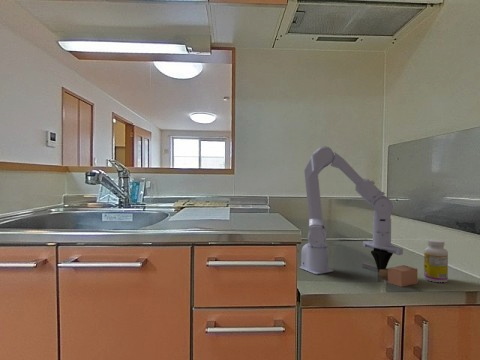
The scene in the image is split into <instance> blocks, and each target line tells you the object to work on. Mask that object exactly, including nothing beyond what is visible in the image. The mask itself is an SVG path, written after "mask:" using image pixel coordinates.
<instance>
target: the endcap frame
mask: <svg viewBox="0 0 480 360" xmlns="http://www.w3.org/2000/svg"><path fill="white" fill-rule="evenodd" d="M361 265H362V268H363V269H364V268H365V269H367V270H370V271H373V272H378V269H377V265H373V264H369V263H366V262H362V263H361ZM378 273H379V272H378ZM387 283H388V284H391V285H395V286H397V287H401V288H402V287H406V286H411V285H415V284H418V268H415V267H412V266H408V265H399V266H398V265H397V266H392V267H388V281H387Z"/></svg>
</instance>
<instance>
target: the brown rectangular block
mask: <svg viewBox="0 0 480 360" xmlns="http://www.w3.org/2000/svg"><path fill="white" fill-rule="evenodd" d="M388 268H389V267H388ZM388 268H387V267H386V269H382V270H379V272H378V279H380V280H383V281H385V282H388Z"/></svg>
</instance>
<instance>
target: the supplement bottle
mask: <svg viewBox="0 0 480 360" xmlns="http://www.w3.org/2000/svg"><path fill="white" fill-rule="evenodd" d="M427 245H428V246H427V247H426V248H424V250H423V255H424V256H423V260H424V261H423V268H424V269H423V274H424V275H423V278H424V279H425V280H427V281H428V280H429V281H428V282H431V281H432V283H437V282H439V283H440V282H441V284H442V282H444V283H446V282H448V280H449V264H448V263H449V252H448V250H447V249H446V248H445V241H444V240H442V239H441V240H440V239H431V238H430V239H427ZM439 283H438V284H439Z"/></svg>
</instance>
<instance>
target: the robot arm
mask: <svg viewBox="0 0 480 360" xmlns="http://www.w3.org/2000/svg"><path fill="white" fill-rule="evenodd" d="M328 166H331V167H334V168H336V169H338V170H340V171H341V172H342V173H343V174H344V175H345V176H346V177H347V178H348V179H349V181H351V182H353V184H355V191H356V193H358V195H360V197H361V198H362V199H364V200H365V201H366V202H367V204H369V205H371V208H372V209H373V217H372V241H371V240H370V241H369V240H364V241H362V247H364V248H370V249H372V250H370V254H371V256H372V257H373V259H374V261H375V266H377V269H378V273H379V270H382V269H387V267H388V264H389V262H390V259H391V258H392V256H393V255H394V254H395V255H397V256H402V255H404V248H402V247H398V246H395V245H392V218H391V216H392V211H393V208H394V207H393V203H392V201H391V200H390V198H388V197H387V196H386V195H385V194H386V193H385V192H384V191H381V190H380V189H379V188H378V187H377V186H376V185H375V184H376V183H375V181H374V180H370V179H369V178H362V177H361V175H360V174H359V173H358V172H357V171H356V170H355V169H354V168H353V166H351V165H350V163H348V161H346V160H345V159H344V157H342V156H341V155H340V154H338V153H337V152H336V151H333V150H332V149H331V147H329V146H327V145H326V146H325V145H323V146H320V147H318V148H317V149H315V151H313V152H312V154H311V156H310V159H309V160H308V162H307V164H306V165H305V168H304V172H303V173H304V180H305V181H304V183H305V189H306V190H305V192H306V201H307V202H306V203H307V211H308V233H307V237H306V238H307V243H305V244H304V245H303V246H302V247H301V252H300V253H301V257H300V258H301V263H300V264H301V266H299V269H301V270H304V271H307V272H308V273H311V274H314V275H322V274H326V273H333V272H334V270H333V269H331V268H329V258H328V257H329V244H328V243H327V242H326V241H327V238H328V231H327V229H326V227H325V224H324V223H325V222H324V218H323V211H322V209H323V208H322V201H321V192H320V191H321V190H320V182H319V181H320V180H319V174H320V173H321V172H322V170H324V168H326V167H328Z"/></svg>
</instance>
